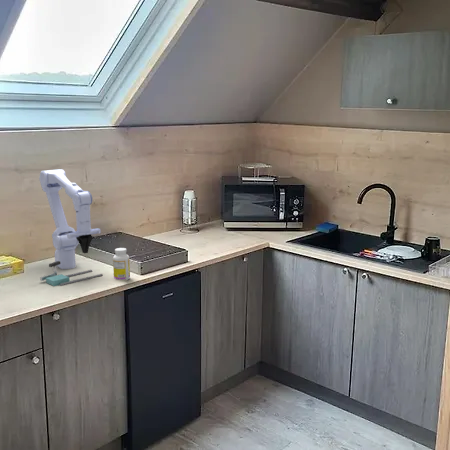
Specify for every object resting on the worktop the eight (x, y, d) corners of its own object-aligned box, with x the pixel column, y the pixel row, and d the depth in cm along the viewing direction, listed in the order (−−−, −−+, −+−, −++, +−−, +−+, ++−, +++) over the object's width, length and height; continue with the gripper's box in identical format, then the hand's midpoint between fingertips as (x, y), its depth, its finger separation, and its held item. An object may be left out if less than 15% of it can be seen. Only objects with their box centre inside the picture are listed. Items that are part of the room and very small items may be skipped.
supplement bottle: (122, 275, 242) (121, 246, 240) (133, 278, 238) (132, 248, 235) (110, 279, 237) (109, 249, 235) (121, 282, 233) (119, 252, 230)
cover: (46, 285, 230) (45, 278, 230) (62, 281, 235) (61, 274, 234) (54, 289, 226) (53, 281, 225) (69, 284, 231) (69, 277, 230)
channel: (49, 282, 233) (49, 279, 233) (90, 273, 246) (90, 269, 245) (61, 288, 226) (60, 284, 226) (102, 277, 239) (102, 274, 239)
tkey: (59, 276, 238) (58, 260, 237) (61, 276, 237) (60, 261, 236) (40, 282, 230) (38, 266, 228) (42, 283, 229) (41, 267, 228)
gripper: (72, 225, 228) (74, 257, 231) (104, 219, 238) (105, 251, 241) (63, 222, 233) (65, 254, 236) (94, 217, 243) (96, 248, 246)
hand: (85, 252), depth 239 cm, fingers closed
